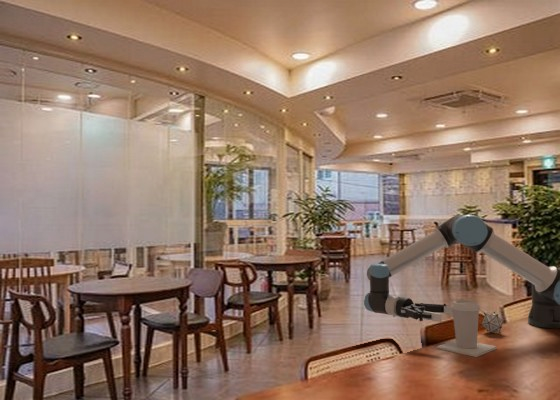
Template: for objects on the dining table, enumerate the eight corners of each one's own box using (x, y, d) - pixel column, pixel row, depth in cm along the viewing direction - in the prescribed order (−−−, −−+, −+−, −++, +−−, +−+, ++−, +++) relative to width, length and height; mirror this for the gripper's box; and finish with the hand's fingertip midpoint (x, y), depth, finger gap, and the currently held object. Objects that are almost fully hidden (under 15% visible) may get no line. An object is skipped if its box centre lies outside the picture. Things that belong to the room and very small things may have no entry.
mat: (458, 341, 177) (458, 338, 177) (496, 348, 166) (496, 346, 166) (437, 348, 168) (437, 346, 168) (476, 357, 157) (476, 354, 157)
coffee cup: (476, 342, 172) (475, 299, 172) (485, 350, 162) (484, 304, 162) (448, 342, 172) (447, 300, 173) (456, 350, 163) (454, 304, 163)
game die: (498, 343, 186) (509, 326, 181) (475, 335, 188) (486, 317, 182) (497, 327, 194) (508, 310, 188) (476, 319, 195) (486, 302, 190)
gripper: (418, 312, 195) (468, 320, 179) (380, 321, 179) (432, 331, 163) (418, 293, 196) (468, 299, 180) (380, 301, 179) (431, 309, 163)
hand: (451, 315), depth 171 cm, fingers open, 13 cm apart
